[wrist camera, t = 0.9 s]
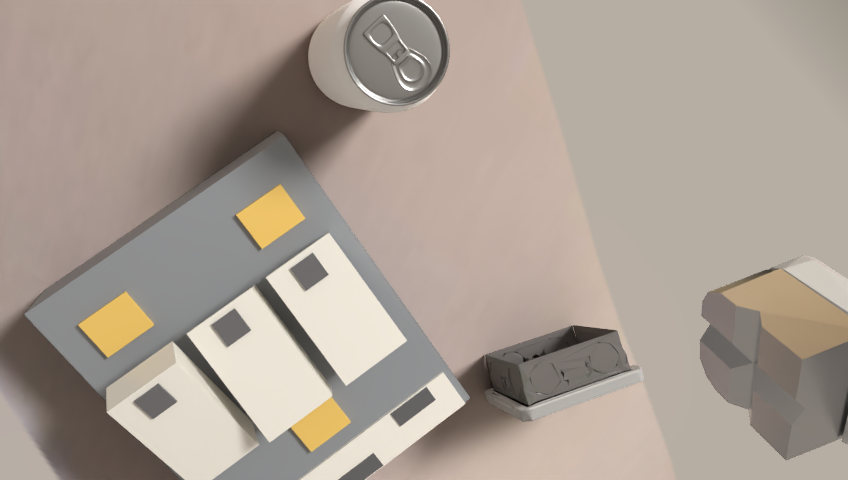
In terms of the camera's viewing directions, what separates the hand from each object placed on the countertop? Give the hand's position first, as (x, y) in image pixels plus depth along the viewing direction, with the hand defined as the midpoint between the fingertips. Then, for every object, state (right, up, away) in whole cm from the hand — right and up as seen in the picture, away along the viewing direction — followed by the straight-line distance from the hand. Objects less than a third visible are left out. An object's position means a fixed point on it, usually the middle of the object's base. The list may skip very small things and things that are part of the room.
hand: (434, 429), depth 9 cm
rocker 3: (-6, -2, +35) cm, 36 cm away
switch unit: (-11, -4, +41) cm, 42 cm away
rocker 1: (-15, -8, +34) cm, 38 cm away
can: (-5, +15, +39) cm, 42 cm away
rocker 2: (-10, -5, +35) cm, 36 cm away
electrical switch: (+8, -6, +47) cm, 48 cm away
